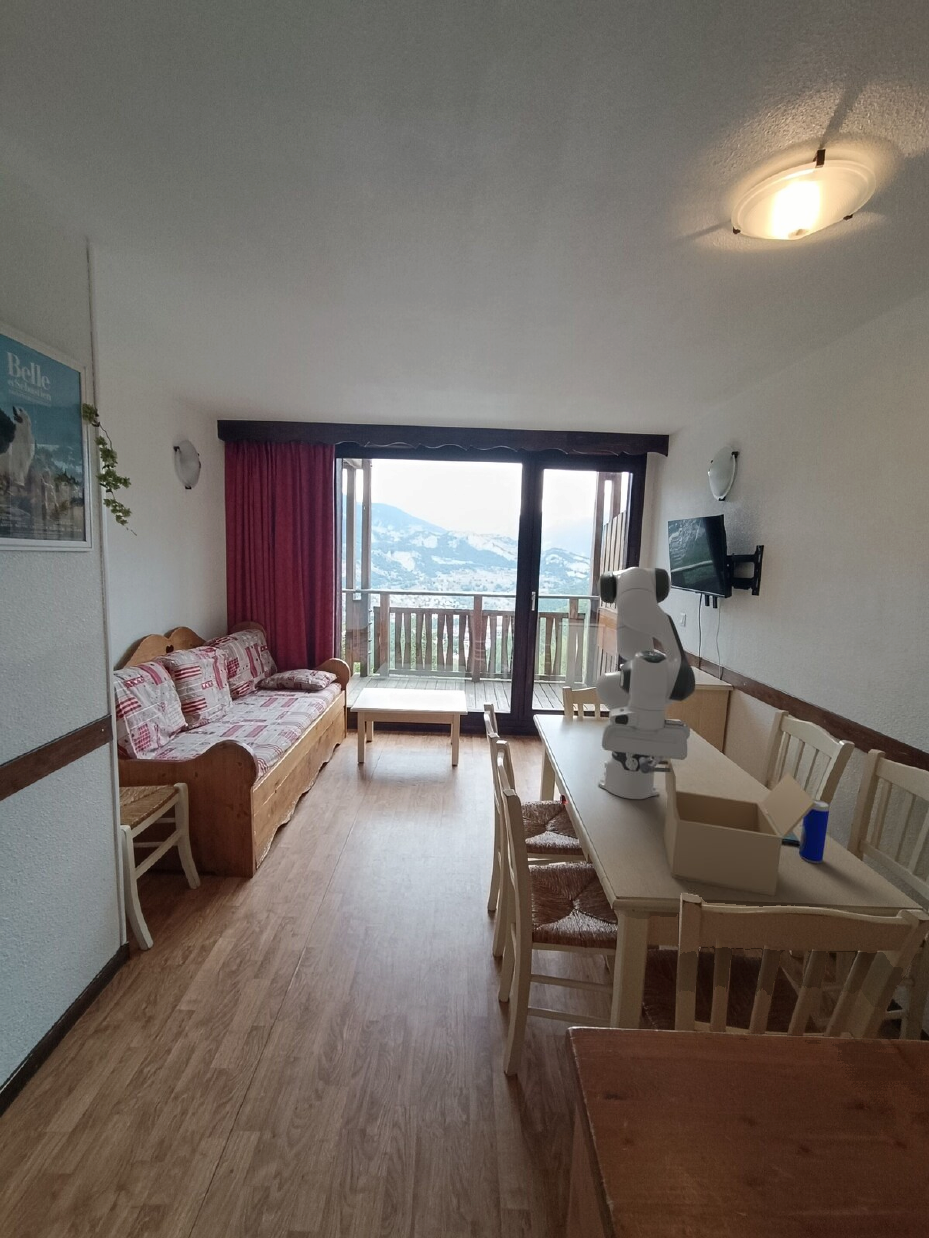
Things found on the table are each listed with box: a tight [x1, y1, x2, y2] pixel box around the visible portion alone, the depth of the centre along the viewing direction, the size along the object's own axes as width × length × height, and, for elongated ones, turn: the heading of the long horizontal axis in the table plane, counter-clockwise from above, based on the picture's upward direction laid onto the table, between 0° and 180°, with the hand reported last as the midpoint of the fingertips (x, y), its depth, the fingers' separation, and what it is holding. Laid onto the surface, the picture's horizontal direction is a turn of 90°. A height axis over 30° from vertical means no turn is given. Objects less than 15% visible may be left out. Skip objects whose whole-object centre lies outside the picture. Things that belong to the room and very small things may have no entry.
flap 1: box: [639, 757, 677, 819], centre depth 133 cm, size 17×10×7 cm
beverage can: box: [798, 798, 830, 864], centre depth 136 cm, size 5×5×15 cm
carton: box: [663, 789, 783, 897], centre depth 131 cm, size 18×22×14 cm
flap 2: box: [760, 772, 816, 838], centre depth 126 cm, size 17×10×1 cm
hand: (641, 771), depth 133 cm, fingers open, 3 cm apart
